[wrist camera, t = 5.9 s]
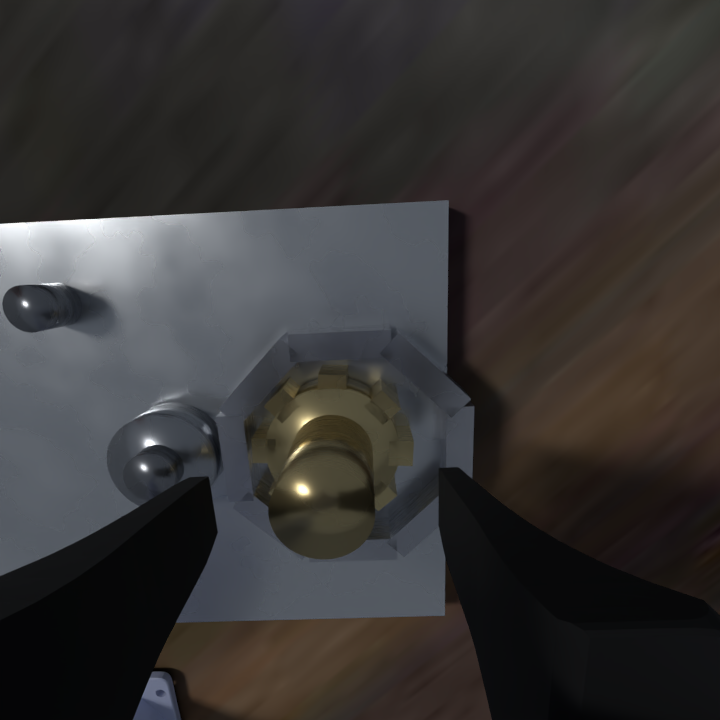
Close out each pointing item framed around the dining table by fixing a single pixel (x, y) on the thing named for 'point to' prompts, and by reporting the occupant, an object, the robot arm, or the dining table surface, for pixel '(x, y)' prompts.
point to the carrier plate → (225, 388)
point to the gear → (330, 460)
